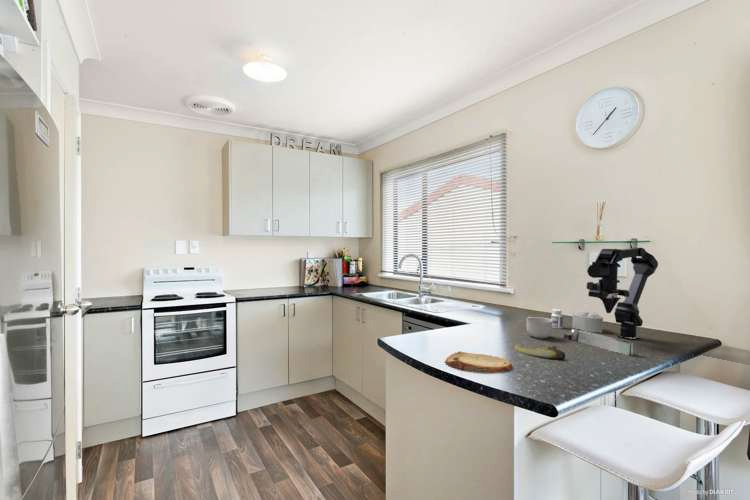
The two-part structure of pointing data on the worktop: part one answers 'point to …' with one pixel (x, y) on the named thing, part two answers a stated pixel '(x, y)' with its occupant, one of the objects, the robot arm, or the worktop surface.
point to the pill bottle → (557, 319)
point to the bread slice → (478, 362)
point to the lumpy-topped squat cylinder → (588, 321)
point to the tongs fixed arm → (599, 341)
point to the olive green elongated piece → (542, 352)
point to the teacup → (539, 327)
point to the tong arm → (619, 340)
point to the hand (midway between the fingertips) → (608, 313)
